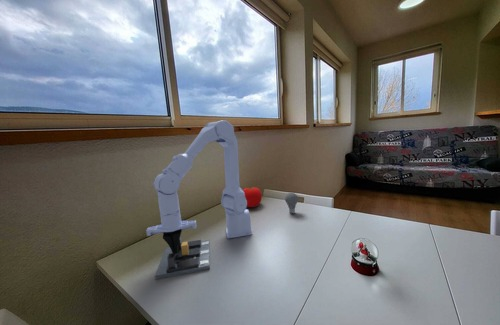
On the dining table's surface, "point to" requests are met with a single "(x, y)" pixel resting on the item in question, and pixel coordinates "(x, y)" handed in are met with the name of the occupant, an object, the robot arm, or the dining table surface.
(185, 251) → the breaker
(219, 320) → the dining table surface
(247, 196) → the tomato
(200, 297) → the dining table surface
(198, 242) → the breaker panel
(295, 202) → the light bulb
